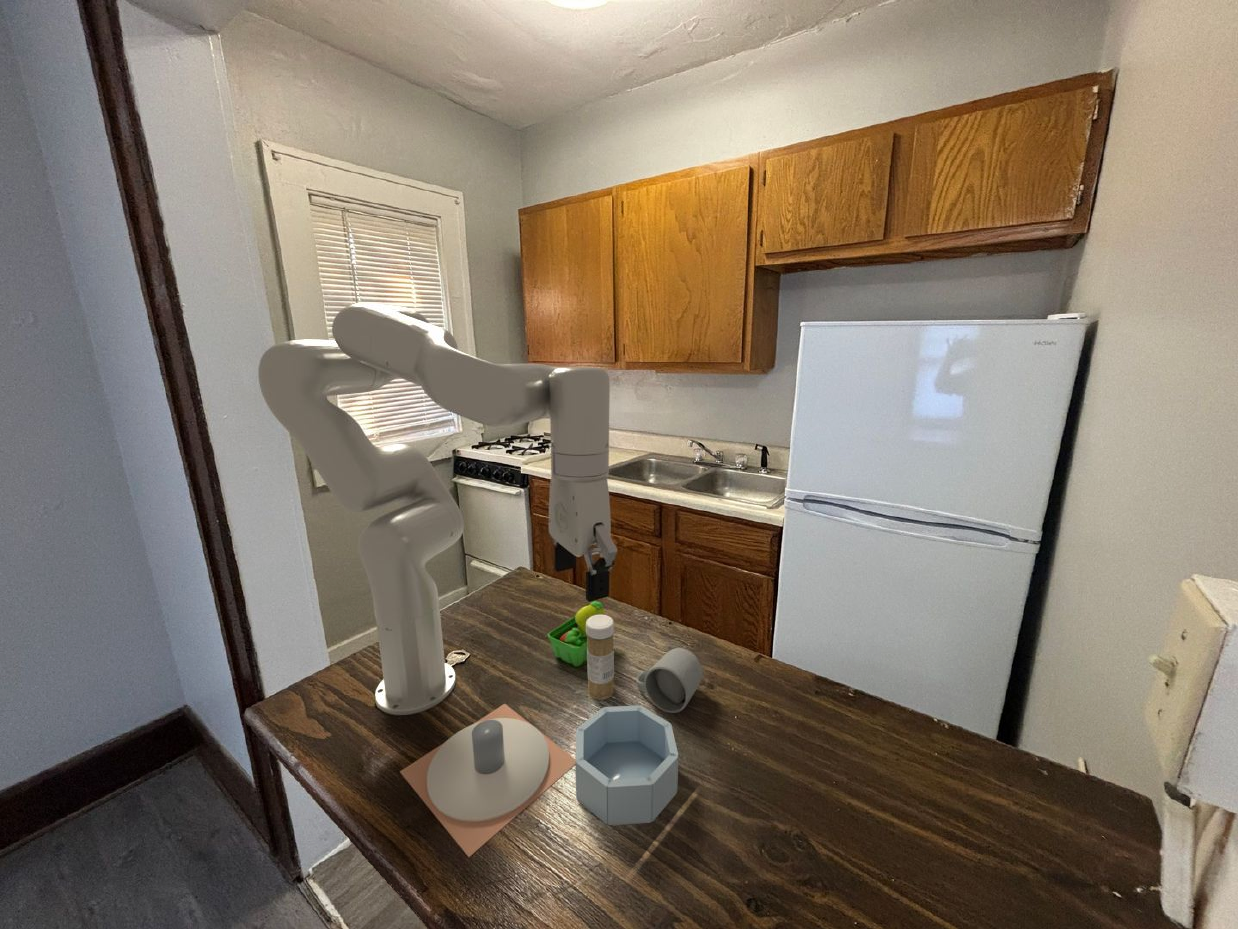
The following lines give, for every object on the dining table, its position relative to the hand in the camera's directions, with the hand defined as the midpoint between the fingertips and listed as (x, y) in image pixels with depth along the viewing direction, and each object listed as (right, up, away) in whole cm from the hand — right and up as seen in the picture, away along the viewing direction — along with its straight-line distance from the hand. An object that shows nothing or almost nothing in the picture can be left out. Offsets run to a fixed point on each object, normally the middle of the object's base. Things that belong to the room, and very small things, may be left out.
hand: (580, 583), depth 66 cm
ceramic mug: (+13, -22, +14) cm, 29 cm away
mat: (-12, -25, -1) cm, 28 cm away
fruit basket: (-1, -20, +25) cm, 32 cm away
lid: (-12, -25, -1) cm, 28 cm away
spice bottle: (+2, -22, +14) cm, 26 cm away
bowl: (+6, -26, -2) cm, 27 cm away
